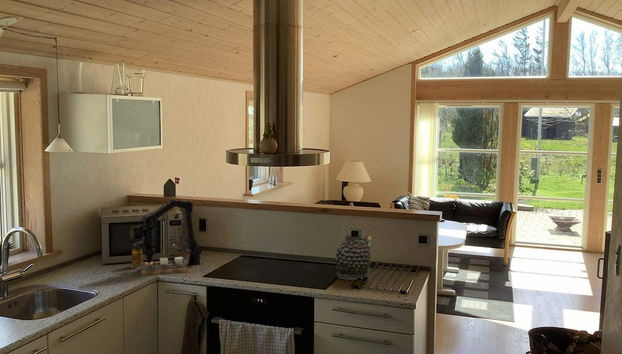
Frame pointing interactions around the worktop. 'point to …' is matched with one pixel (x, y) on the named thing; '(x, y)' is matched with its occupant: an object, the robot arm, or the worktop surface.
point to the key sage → (178, 260)
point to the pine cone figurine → (353, 257)
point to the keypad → (163, 268)
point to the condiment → (137, 258)
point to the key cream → (163, 261)
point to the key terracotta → (148, 263)
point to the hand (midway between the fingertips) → (149, 263)
